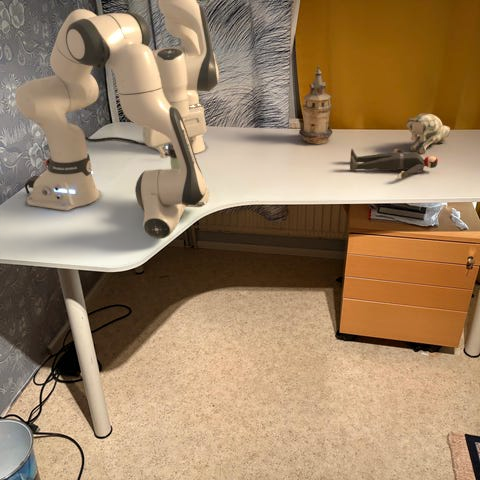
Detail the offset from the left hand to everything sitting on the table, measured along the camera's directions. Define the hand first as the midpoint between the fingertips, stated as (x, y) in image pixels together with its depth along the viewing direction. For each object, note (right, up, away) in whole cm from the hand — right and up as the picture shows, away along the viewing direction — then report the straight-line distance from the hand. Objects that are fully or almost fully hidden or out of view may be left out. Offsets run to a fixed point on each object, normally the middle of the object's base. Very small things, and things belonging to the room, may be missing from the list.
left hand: (180, 184), depth 168 cm
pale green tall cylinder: (0, -5, +2) cm, 6 cm away
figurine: (+92, +19, +43) cm, 103 cm away
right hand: (0, +9, -6) cm, 11 cm away
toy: (+73, +8, +24) cm, 77 cm away
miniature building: (+50, +24, +52) cm, 76 cm away
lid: (0, +10, -7) cm, 13 cm away
